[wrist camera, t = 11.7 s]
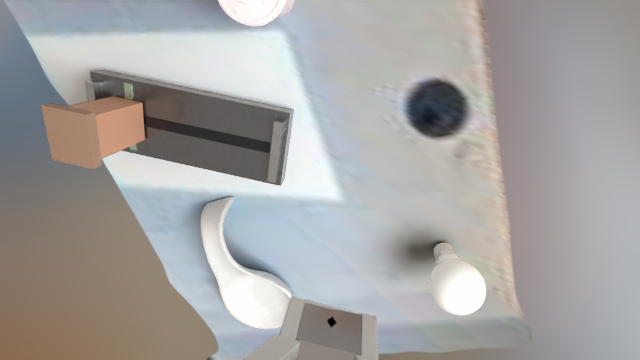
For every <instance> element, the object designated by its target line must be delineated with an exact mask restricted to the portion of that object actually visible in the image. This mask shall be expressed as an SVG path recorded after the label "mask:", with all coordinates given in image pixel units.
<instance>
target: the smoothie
mask: <svg viewBox="0 0 640 360" xmlns="http://www.w3.org/2000/svg"><path fill="white" fill-rule="evenodd" d="M218 2H219V4H220V6H221V7H222V9H223V10H224V11H225V13H226V14H227V15H228V16H229V17H231V18H232V19H233V20H235V21H237V22H239V23H241V24H245V25H248V26H261V25H265V24H267V23H269V22H271V21H272V20H274V19H275V18H277V17H281V16H284V15H286V14H288V13H289V12H290V11H291V9H292V7H293V5H294V0H218Z"/></svg>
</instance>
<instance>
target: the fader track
mask: <svg viewBox="0 0 640 360" xmlns="http://www.w3.org/2000/svg"><path fill="white" fill-rule="evenodd" d="M90 72H91V80H92V81H86V89H87V96H88V102H89V101H94V100H98V99H103V98H108V97H112V96H114V97H118V98H123V99H128V100H133V101H137V102H142V104H143V118H144V132H145V140H143V141H141V142H139V143H136V144H134V145H132V146H129V147H127V148H125V149H123V150H122V151H127V152H131V153H136V154H140V155H145V156H149V157H154V158H158V159H163V160H167V161H172V162H176V163H181V164H185V165H190V166H194V167H199V168H203V169H208V170H212V171H217V172H221V173H226V174H230V175H235V176H239V177H244V178H248V179H253V180H257V181H262V182H266V183H271V184H275V185H280V186H281V184H282V182H283V181H284V177H285V170H286V163H287V155H288V148H289V141H290V134H291V126H292V119H293V112H294V110H293V109H288V108H283V107H278V106H273V105H269V104H264V103H259V102H254V101H249V100H244V99H240V98H235V97H230V96H225V95H220V94H216V93H211V92H206V91H201V90H196V89H192V88H187V87H182V86H177V85H172V84H167V83H163V82H158V81H153V80H148V79H143V78H139V77H134V76H129V75H124V74H119V73H115V72H110V71H105V70H98V71H90Z"/></svg>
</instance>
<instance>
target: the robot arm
mask: <svg viewBox="0 0 640 360" xmlns="http://www.w3.org/2000/svg"><path fill="white" fill-rule="evenodd" d="M305 301H306V302H305ZM244 360H379V358H378V331H377V318H376V316H372V315H368V314H364V313H359V312H355V311H351V310H346V309H342V308H338V307H332V306H328V305H325V304H321V303H317V302H313V301H310V300H305V299H301V298H297V297H294V296H292V297H291V299H290V301H289V305H288V308H287V311H286V314H285V318H284V321H283V324H282V328H281V331H280V334H279V335H274V336H272V337H271V338H270V339H269V340H267V341H266V342H265V343H264V344H262V345H261V346H260V347H259V348H257V349H256V350H255V351H254V352H252V353H251V354H250V355H249V356H247V357H246V358H245V359H244Z"/></svg>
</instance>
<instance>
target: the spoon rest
mask: <svg viewBox="0 0 640 360" xmlns="http://www.w3.org/2000/svg"><path fill="white" fill-rule="evenodd" d="M233 202H234V197H228V198H224V199H220V200H216V201H213V202H210V203H207V204H206V205H205V207H204V209H203V211H202V213H201V221H200V226H201V236H202V241H203V246H204V250H205V253H206V256H207V259H208V262H209V265H210V267H211V269H212V271H213V273H214V275H215V277H216V280H217V283H218V286H219V290H220V294H221V297H222V300H223V302H224V305H225V307H226V308H227V310H228V311H229V312H230V314H231V315H232V316H234V317H235V318H236V319H237V320H239V321H240V322H242V323H244V324H246V325H248V326H251V327H254V328H261V329H272V328H278V327H282V324H283V321H284V318H285V314H286V311H287V308H288V305H289V301H290V299H291V297H292V296H293V293H292V292H291V290H290V289H289V287H288V286H287V285H286V284H285V283H284V282H283V281H282V280H280V279H279V278H278V277H276V276H274V275H272V274H270V273H267V272H263V271H257V270H251V269H248V268H245V267H243V266H241V265H240V264H238V263H237V262H236V261H235V260H234V259H233V257H232V256H231V254H230V253H229V250H228V248H227V245H226V242H225V239H224V233H223V225H224V219H225V216H226V214H227V212H228V210H229V208H230V207H231V205H232V204H233Z"/></svg>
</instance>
